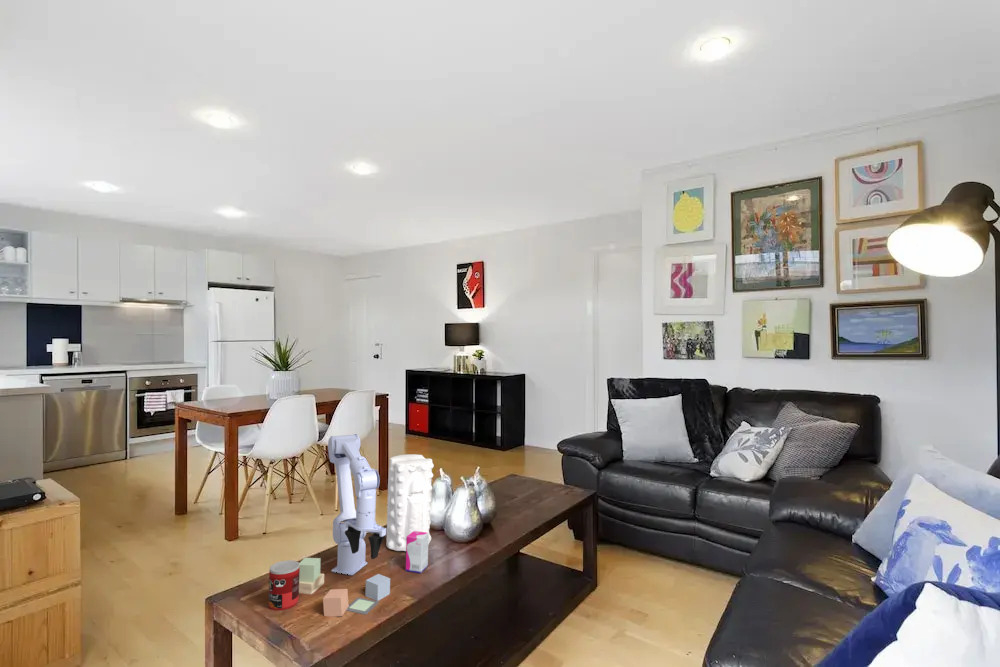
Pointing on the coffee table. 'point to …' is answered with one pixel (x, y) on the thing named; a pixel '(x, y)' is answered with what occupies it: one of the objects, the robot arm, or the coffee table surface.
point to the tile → (362, 606)
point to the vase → (408, 498)
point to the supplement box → (417, 551)
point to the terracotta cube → (335, 602)
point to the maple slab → (311, 585)
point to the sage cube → (309, 569)
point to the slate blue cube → (377, 587)
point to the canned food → (284, 585)
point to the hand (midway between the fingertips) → (364, 555)
